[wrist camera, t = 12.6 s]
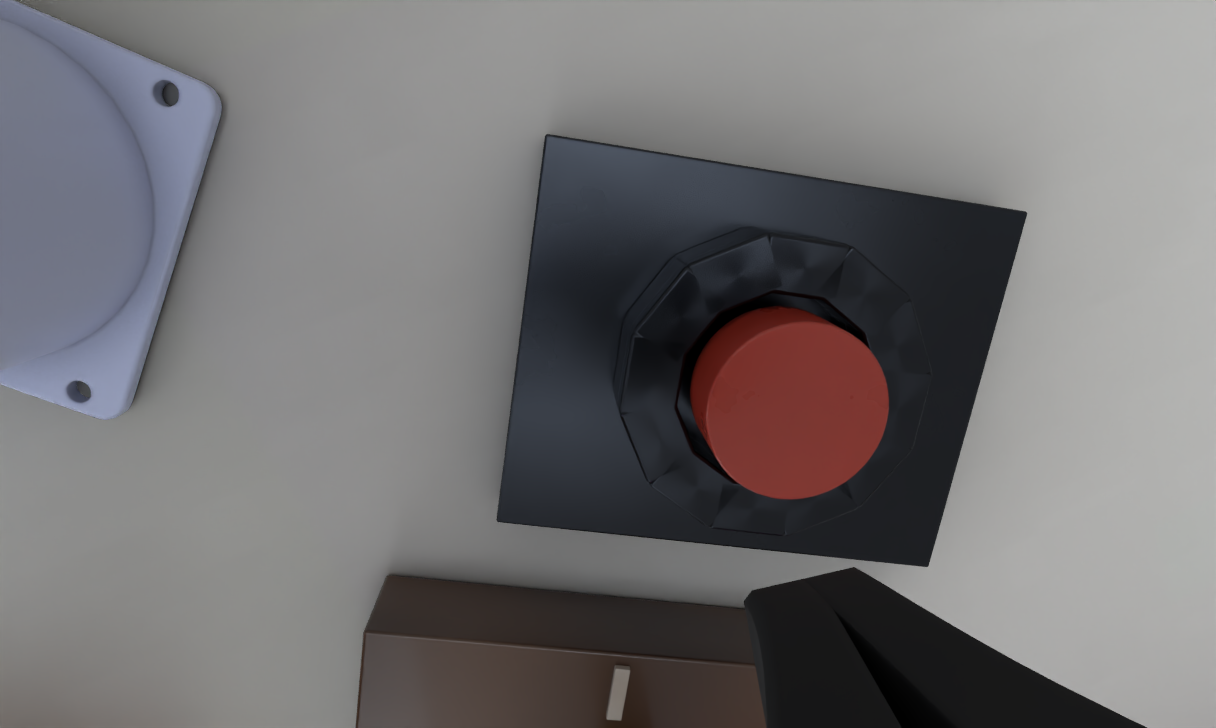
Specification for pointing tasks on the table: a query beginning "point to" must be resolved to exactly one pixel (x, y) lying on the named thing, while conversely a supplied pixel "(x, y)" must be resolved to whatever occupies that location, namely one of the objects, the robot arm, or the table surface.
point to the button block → (702, 304)
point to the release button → (788, 402)
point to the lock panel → (551, 660)
